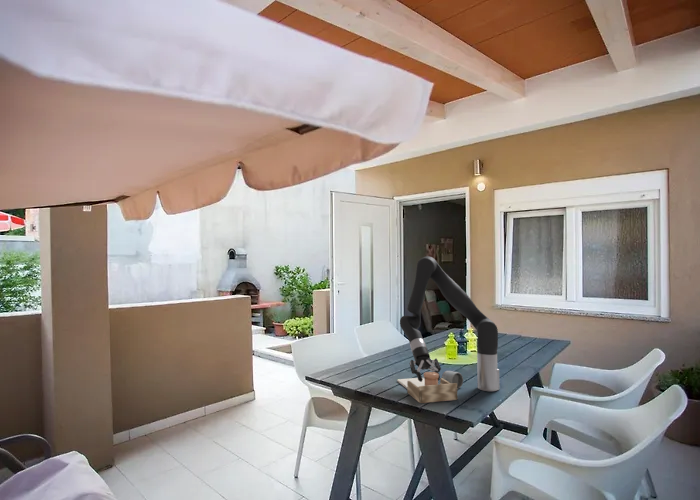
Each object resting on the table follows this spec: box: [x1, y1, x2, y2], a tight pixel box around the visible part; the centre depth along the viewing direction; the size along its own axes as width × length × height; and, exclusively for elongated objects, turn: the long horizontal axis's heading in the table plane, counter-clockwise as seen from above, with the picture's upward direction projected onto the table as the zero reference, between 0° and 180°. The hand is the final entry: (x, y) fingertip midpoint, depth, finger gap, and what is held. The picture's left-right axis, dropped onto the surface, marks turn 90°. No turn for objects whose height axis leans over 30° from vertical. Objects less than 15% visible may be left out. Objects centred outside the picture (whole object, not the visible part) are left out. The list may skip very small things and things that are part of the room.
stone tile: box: [397, 376, 425, 390], centre depth 197 cm, size 14×14×1 cm
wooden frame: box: [406, 377, 458, 404], centre depth 180 cm, size 18×14×7 cm
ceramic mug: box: [441, 370, 464, 390], centre depth 193 cm, size 11×8×8 cm
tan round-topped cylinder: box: [423, 371, 440, 386], centre depth 180 cm, size 7×7×10 cm
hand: (429, 380), depth 181 cm, fingers open, 8 cm apart
